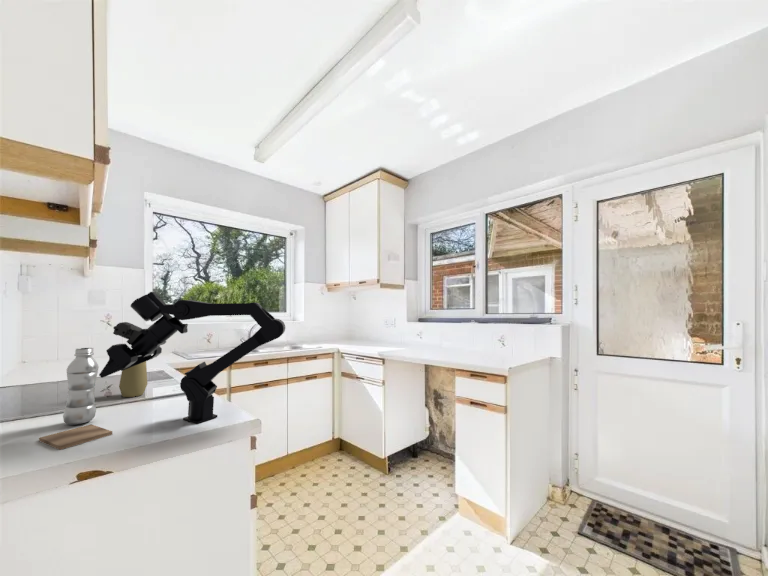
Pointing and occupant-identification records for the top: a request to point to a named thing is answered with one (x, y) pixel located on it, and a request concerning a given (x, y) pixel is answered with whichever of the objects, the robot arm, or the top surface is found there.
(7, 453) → the top surface
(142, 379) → the squeeze bottle
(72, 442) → the walnut board
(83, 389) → the plastic bottle
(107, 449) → the top surface
